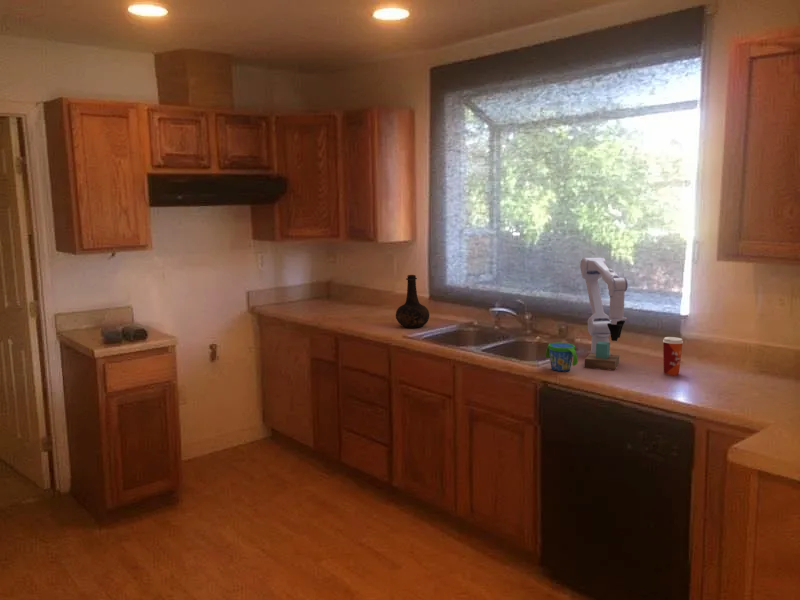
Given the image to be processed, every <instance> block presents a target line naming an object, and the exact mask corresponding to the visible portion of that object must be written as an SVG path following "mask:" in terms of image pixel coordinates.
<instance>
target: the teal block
mask: <svg viewBox="0 0 800 600" xmlns="http://www.w3.org/2000/svg"><path fill="white" fill-rule="evenodd" d="M610 353H611V342H610V341H609V342H598V343H596V358H602V359H607V358H609V356H610V355H611V354H610Z"/></svg>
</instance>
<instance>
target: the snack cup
mask: <svg viewBox="0 0 800 600" xmlns="http://www.w3.org/2000/svg"><path fill="white" fill-rule="evenodd" d="M575 349H576V346H575V345H574V344H572V343H568V342H549V343H548V345H547V347H546V350H545V358H546V359H549V361H550V367H551V370H554V371H558V372H568V371H570V370H571V366H576V365H577V364H578V355H577V351H576V350H575Z"/></svg>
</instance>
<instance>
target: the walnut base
mask: <svg viewBox="0 0 800 600" xmlns="http://www.w3.org/2000/svg"><path fill="white" fill-rule="evenodd" d="M618 364H619V365H620V355H619V354H618V355H617V354H610V356H609V358H607V359H602V358H596V354H595V353H591V352H590V353H588V355H587V356H586V357H585V358H584V368H586V367H589V368H588V369H596V368H600V370H607V369H611V371H616V369H617V368H618V366H619V365H618ZM616 367H617V368H616Z"/></svg>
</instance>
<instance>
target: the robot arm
mask: <svg viewBox="0 0 800 600" xmlns="http://www.w3.org/2000/svg"><path fill="white" fill-rule="evenodd" d="M579 267H580V273H581V276H582V278H583V279H584V280H585V284H586V289H587V294H588V299H589V303H590V308H591V314H592V315H590V317H588V319H587V332H588V334H589V335H590V336H591V344H590V345H591V346H590V349H591V350H590V353H595V354H596V343H598V342H609V343H610V340H609V339H611V342H618V339H619V338H621V334H622V330H623V326H624V325H625V323H626V321H627V319H628V317H626V316H625V317H624V315H625V293H626V291H627V290H628V280H627V279H626V277H624V276H623V277H620V276H619V274H617V272H615V270H614V269H613V268H612V269H611V268H610V269H609V267H608V266H607V261H606V259H605V257H602V256H601V257H583V258H582V259H581V260H580V266H579ZM601 278H602V280H603V281H604V283H606V285H607V289H608V296H609V313H608V314H609V315H608V314H607V313H605V311H604V310H605V309H604V305H603V301H602V297H601V292H600V287H599V282H598V280H599V279H601ZM609 337H610V338H609ZM610 355H612V354H611V352H610Z"/></svg>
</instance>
